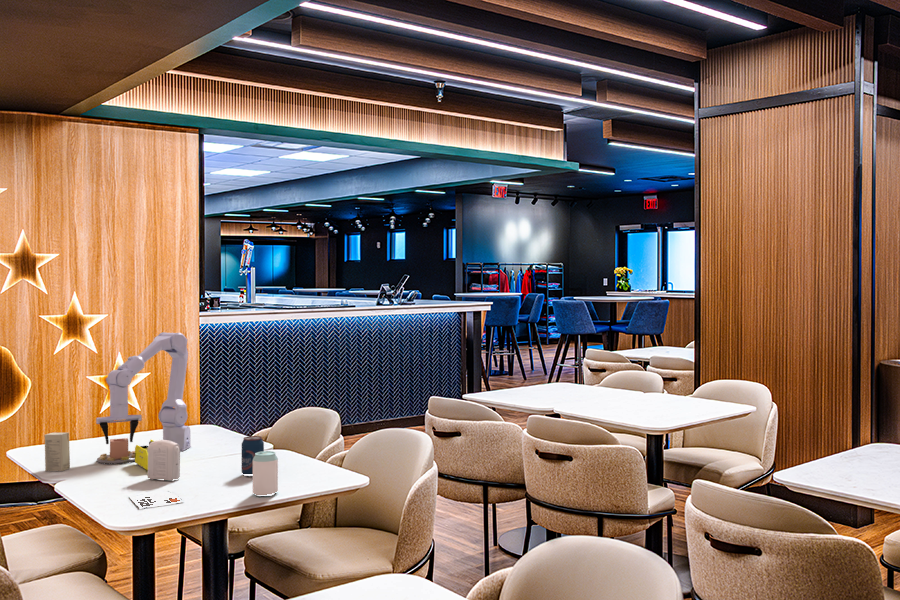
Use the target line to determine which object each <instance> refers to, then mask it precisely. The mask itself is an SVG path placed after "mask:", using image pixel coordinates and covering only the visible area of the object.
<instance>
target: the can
mask: <svg viewBox="0 0 900 600" xmlns="http://www.w3.org/2000/svg"><path fill="white" fill-rule="evenodd" d="M278 460H279V458H278V456H277V454H276V452H275V451H271V450H270V451H268V450H264V451H263V452H257V453H255V456H254V458H253V477H252V494H253V493H254V494H256V495H267V494H272V493H275V492H277V491H278V492H279V489H278V488H279V486H278V485H279V483H278V482H279V476H278V475H279V464H278V462H279V461H278ZM278 492H277V493H278ZM254 494H253V495H254ZM256 495H255V496H256Z"/></svg>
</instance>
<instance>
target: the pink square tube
mask: <svg viewBox="0 0 900 600" xmlns="http://www.w3.org/2000/svg"><path fill="white" fill-rule="evenodd" d="M128 451H129V438H128V437H127V438H126V437H124V438H111V439H109V455H110V457H115V459H121V457H125V456H128Z"/></svg>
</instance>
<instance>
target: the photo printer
mask: <svg viewBox="0 0 900 600" xmlns="http://www.w3.org/2000/svg"><path fill="white" fill-rule="evenodd" d="M147 446H148V470H147V479H148V478H150V479H149V480H153V479H164V480H173V479H178V478H179V477H181V473H180V471H181V469H180V468H181V465H180V464H181V451H180V447H179V445H178V444H177V443H175V442H173V441H169V440H163V439H159V440H153V442H151V443H150V444H149V443H148V445H147ZM179 479H180V478H179ZM164 480H163V481H164Z"/></svg>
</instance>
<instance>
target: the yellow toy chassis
mask: <svg viewBox="0 0 900 600" xmlns="http://www.w3.org/2000/svg"><path fill="white" fill-rule="evenodd" d="M153 441H154V439H150V440H149V441H148V445H139V444H136V445H135V446H134V451H135V462H134V463H135V464H136V465H139V466H138V467H141V469H144V470H145V471H148V446H149V444H150V443H151V442H153Z"/></svg>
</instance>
